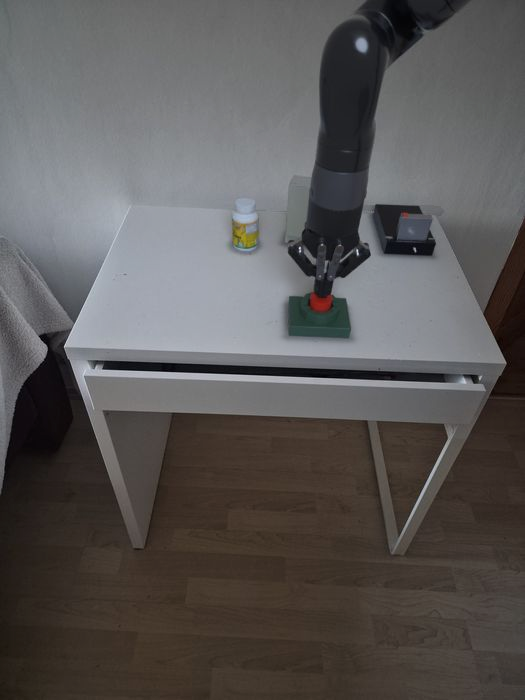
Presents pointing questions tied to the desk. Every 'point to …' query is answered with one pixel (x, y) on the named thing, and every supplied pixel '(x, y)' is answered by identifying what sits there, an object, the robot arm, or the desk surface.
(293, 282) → the desk surface
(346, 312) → the button box
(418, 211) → the black rectangular base
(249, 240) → the supplement bottle
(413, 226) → the grey and red bar
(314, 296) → the button
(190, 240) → the desk surface
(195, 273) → the desk surface
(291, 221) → the box
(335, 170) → the robot arm
